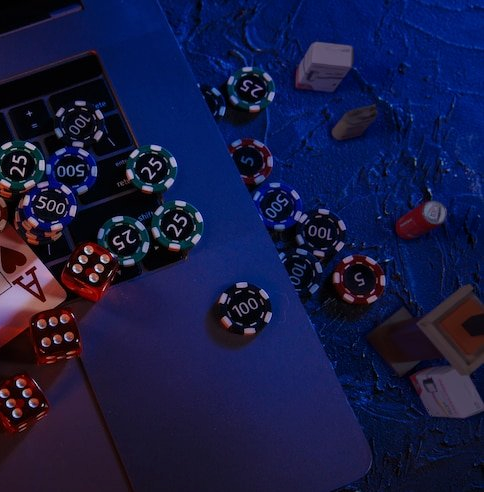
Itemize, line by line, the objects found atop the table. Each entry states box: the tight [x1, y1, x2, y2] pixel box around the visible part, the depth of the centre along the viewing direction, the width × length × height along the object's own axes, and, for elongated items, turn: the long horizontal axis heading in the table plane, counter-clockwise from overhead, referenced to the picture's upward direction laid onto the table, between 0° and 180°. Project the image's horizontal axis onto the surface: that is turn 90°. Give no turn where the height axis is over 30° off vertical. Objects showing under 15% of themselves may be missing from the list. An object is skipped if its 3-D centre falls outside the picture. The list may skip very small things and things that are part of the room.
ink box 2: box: [408, 364, 484, 419], centre depth 115 cm, size 9×5×12 cm, turn 22°
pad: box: [439, 298, 484, 355], centre depth 97 cm, size 6×6×7 cm
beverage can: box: [395, 200, 448, 241], centre depth 123 cm, size 5×5×12 cm
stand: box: [364, 306, 446, 378], centre depth 112 cm, size 10×10×23 cm
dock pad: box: [416, 283, 484, 376], centre depth 100 cm, size 10×10×2 cm
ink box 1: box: [295, 41, 355, 93], centre depth 131 cm, size 9×5×12 cm, turn 83°
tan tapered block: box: [331, 103, 379, 141], centre depth 129 cm, size 7×4×10 cm, turn 105°
